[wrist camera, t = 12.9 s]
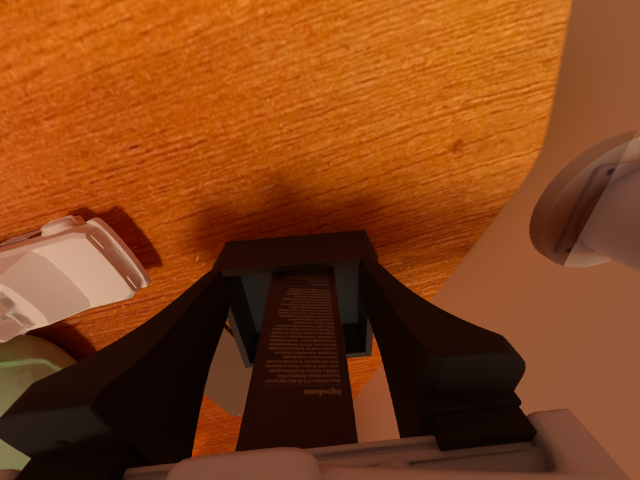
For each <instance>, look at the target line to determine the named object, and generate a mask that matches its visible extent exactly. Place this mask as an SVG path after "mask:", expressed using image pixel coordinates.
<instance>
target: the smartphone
mask: <svg viewBox="0 0 640 480" xmlns="http://www.w3.org/2000/svg"><path fill="white" fill-rule="evenodd" d="M252 369H253V367H251V368H245V366H244V363H243V360H242V358H241V355H240V352H239V349H238V347H237V344H236V341H235V338H234V336H233V333H232V332H231V331H230V330H229V329H228V328H227V327H226V326H224V329H223V332H222V335H221V337H220V340H219V343H218V346H217V348H216V351H215V354H214V357H213V360H212V363H211V366H210V370H209V374H208V378H207V382H206V386H205V390H204V395H206V396H207V397H208V398H209V399H211V400H212V401H213V402H215V403H216V404H217V405H219V406H220V407H221V408H222V409H224V410H225V411H226V412H228V413H229V414H230V415H231V416H234V417H235V416H238V415H242V414H243V413H244V409H245V404H246V399H247V394H248V389H249V384H250V380H251V375H252Z"/></svg>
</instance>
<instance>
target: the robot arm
mask: <svg viewBox="0 0 640 480" xmlns="http://www.w3.org/2000/svg"><path fill="white" fill-rule="evenodd" d="M554 252H555V253H556V254H558V255H565V254H576V253H587V252H598V253H600V254H602V255H604V256H606V257H608V258H610V259H612V260H614V261H616V262H618V263H620V264H622V265H624V266H626V267H628V268H630V269H632V270H634V271H636V272H638V273H640V162H629V163H616V164H604V165H600V166H598V167H597V168H595V169H594V171H593V173H592V175H591V177H590V179H589V181H588V183H587V185H586V187H585V189H584V191H583V193H582V195H581V197H580V199H579V201H578V203H577V205H576V207H575V209H574V211H573V213H572V215H571V217H570V219H569V221H568V223H567V225H566V227H565V229H564V231H563V233H562V235H561V237H560V239H559V241H558V243H557V245H556V247H555V249H554ZM359 289H360V293H361V298H362V302H363V305H364V308H365V311H366V314H367V317H368V319H369V322H370V325H371V327H372V330H373V333H374V336H375V338H376V341H377V344H378V347H379V350H380V354H381V358H382V362H383V365H384V369H385V373H386V377H387V382H388V385H389V390H390V394H391V398H392V403H393V407H394V411H395V416H396V420H397V425H398V430H399V434H400V439H392V440H383V441H374V442H366V443H355V444H346V445H337V446H328V447H319V448H310V449H300V448H296V447H276V448H267V449H258V450H249V451H239V452H230V453H221V454H212V455H202V456H196V457H192V451H193V445H194V438H195V433H196V428H197V423H198V418H199V413H200V408H201V403H202V399H203V394H204V390H205V386H206V382H207V378H208V374H209V370H210V366H211V363H212V360H213V357H214V354H215V351H216V348H217V346H218V343H219V340H220V337H221V335H222V332H223V329H224V326H225V323H226V321H227V318H228V313H229V309H230V303H231V298H230V295H229V292H228V289H227V286H226V283H225V280H224V277H223V274H222V271H221V270H217V271H209V272H208V273H206V274H205V275H204V276H203V277H202V278H200V279H199V280H198V281H197V282H196V283H195V284H193V285H192V286H191V287H190V288H189V289H188V290H186V291H185V292H184V293H183V294H182V295H181V296H179V297H178V298H177V299H176V300H175V301H173V302H172V303H171V304H169V305H168V306H167V307H166V308H164V309H163V310H162V311H161V312H159V313H158V314H157V315H155V316H154V317H153V318H151V319H150V320H148V321H147V322H145V323H144V324H142V325H141V326H139V327H138V328H136V329H135V330H133V331H132V332H130V333H128V334H127V335H125V336H123V337H122V338H120V339H119V340H117V341H115V342H114V343H112V344H110V345H108V346H107V347H105V348H103V349H101V350H99V351H98V352H96V353H94V354H92V355H90V356H88V357H86V358H84V359H82V360H80V361H78V362H76V363H74V364H72V365H70V366H68V367H66V368H64V369H62V370H60V371H58V372H55V373H53V374H51V375H49V376H47V377H45V378H43V379H40V380H38V381H36V382H34V383H32V384H31V385H30V386H29V387H28V388H27V389H26V391H25V392H24V393H23V394H22V395H21V396H20V397H19V398H18V399H17V400H16V401H15V402H14V403H13V404H12V405H11V406H10V407H9V409H8V410H7V411H6V412H5V413H4V414H3V415H2V416H1V417H0V439H1V440H2V441H4V442H5V443H7V444H8V445H10V446H12V447H13V448H15V449H16V450H18V451H20V452H21V453H23V454H25V455H26V456H28V457H29V458H31V459H30V460H29V462H28V463H27V464H26V466H25V467H24V468H23V469H22V471H21V470H17V469H1V470H0V480H631V479H630V478H629V477H628V476H627V474H626V473H625V472H624V471H623V470H622V469H621V468H620V466H619V465H618V464H617V463H616V462H615V461H614V460H613V458H612V457H611V456H610V455H609V454H608V453H607V452H606V451H605V449H604V448H603V447H602V446H601V445H600V443H599V442H598V441H597V440H596V439H595V438H594V437H593V435H592V434H591V433H590V432H589V431H588V430H587V429H586V428H585V426H584V425H583V424H582V423H581V422H580V421H579V419H578V418H577V417H576V416H575V415H574V414H573V412H572V411H571V410H569V409H557V410H548V411H539V412H534V413H531V414H529V415H527V416H525V414H524V413H523V411H522V410H521V409H520V407H519V406H520V405H521V400H520V399H519V397H518V396H517V395H516V393H515V392H514V390H515V388H516V386H517V385H518V383H519V381H520V380H521V378H522V377H523V374H524V372H525V368H526V367H525V361H524V360H523V359H522V357H521V356H520V355H519V354H518V352H517V351H516V350H515V349H514V348H513V347H512V346H511V344H510V343H509V342H508V341H507V340H506V339H505V338H504V337H503V336H502V335H499V334H497V333H495V332H492V331H489V330H486V329H484V328H481V327H478V326H476V325H474V324H471V323H469V322H467V321H465V320H462V319H460V318H458V317H456V316H454V315H452V314H450V313H448V312H446V311H444V310H442V309H440V308H438V307H436V306H435V305H433V304H431V303H429V302H428V301H426V300H425V299H423V298H422V297H420V296H418V295H417V294H415V293H414V292H412V291H411V290H410V289H408V288H407V287H406V286H404V285H403V284H402V283H401V282H399V281H398V280H397V279H396V278H395V277H393V276H392V275H391V274H390V273H389V272H388V271H387V270H386V269H384V268H383V267H382V266H381V265H380V264H379V263H378V262H377V261H376V260H375V259H374V258H373V257H372V256H371V257H360V278H359ZM191 457H192V458H191Z"/></svg>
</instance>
